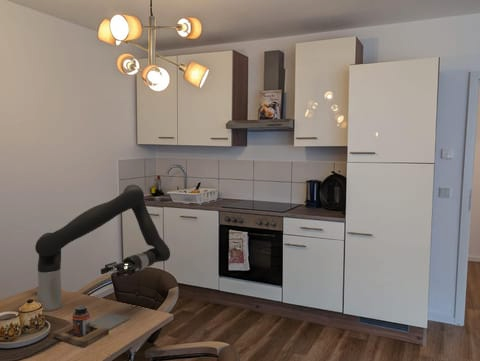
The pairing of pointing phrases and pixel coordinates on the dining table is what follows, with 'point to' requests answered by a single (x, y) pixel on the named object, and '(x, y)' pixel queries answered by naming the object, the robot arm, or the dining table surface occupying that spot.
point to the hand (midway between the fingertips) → (109, 273)
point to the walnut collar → (86, 340)
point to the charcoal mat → (109, 320)
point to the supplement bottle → (81, 321)
